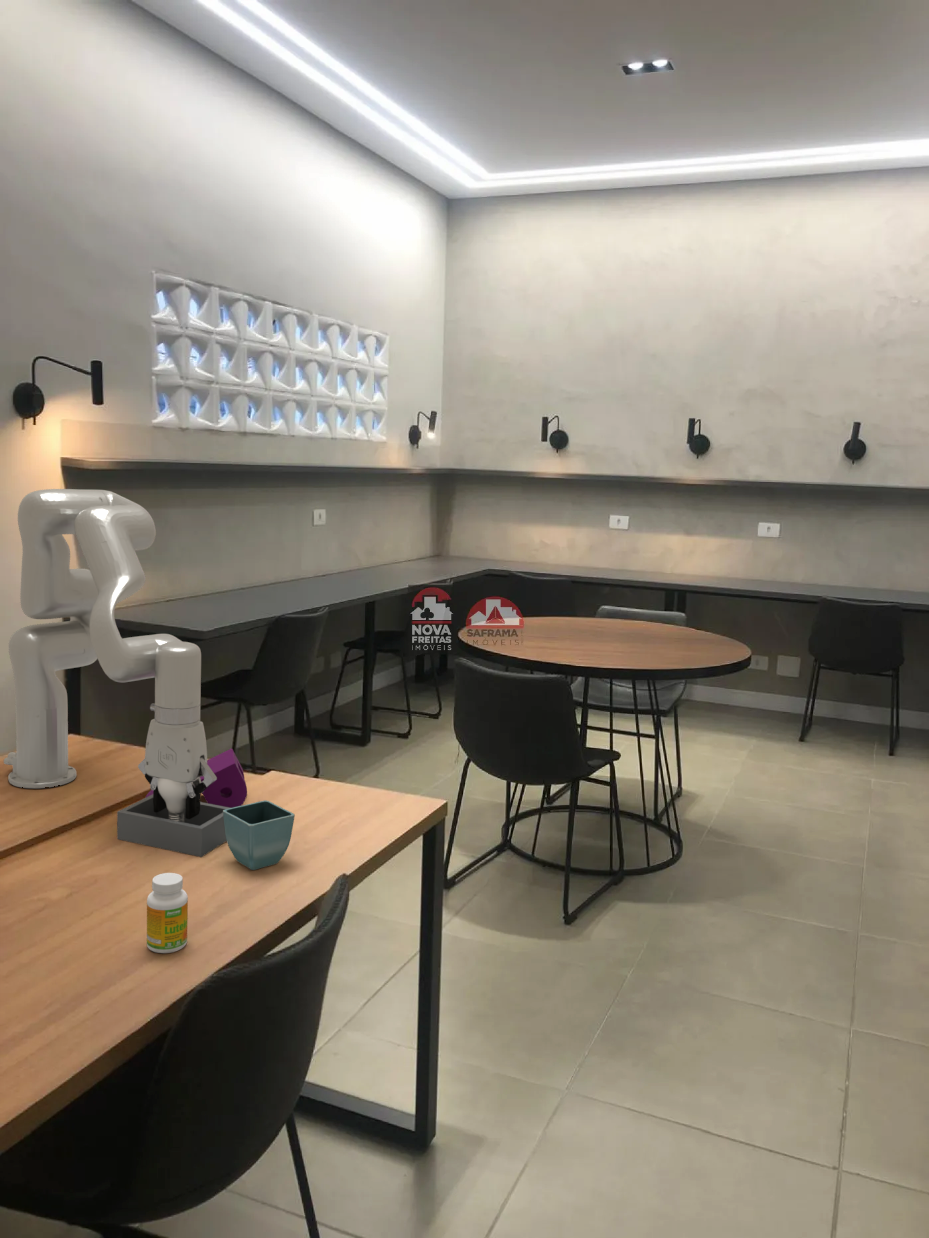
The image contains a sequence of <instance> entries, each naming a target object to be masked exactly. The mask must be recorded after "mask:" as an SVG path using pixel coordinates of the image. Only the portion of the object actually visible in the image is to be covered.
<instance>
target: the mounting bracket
mask: <svg viewBox="0 0 929 1238" xmlns="http://www.w3.org/2000/svg"><path fill="white" fill-rule="evenodd" d="M207 764H208V766H209V767H210V769H211V770H212V771H213V773H214V774H215V775H216V777H217V780H216V781H214V782H213V783H212V784H211V785H210V786H209V787H208V788H207V789H205V790H204V791H203V793H201V795H202V796H203V798H204V800H205V803H208V804H214V805H219V806H224V807H229V808H234V807H238V806H242V805H244V803H245V801H246V799H247V795H248V787H247V783H246V782H247V781H246V780H245V773H244V769H243V767H242V765H241V763H240V761H239V759H238V757H237V756H236V753H235V752H234V749H233V748H229V749H228V750H226V751H222V752H221V753H219V754H217V755H214V756H213V757H210V758H209V759H207ZM200 779H201V782H202V781H203V780H204V776H202V777H200ZM152 794H153V790H151V789H150V791H148V793H147V794H146V795H145V798H146V797H148V796H150V795H152Z"/></svg>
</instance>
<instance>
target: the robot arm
mask: <svg viewBox="0 0 929 1238" xmlns="http://www.w3.org/2000/svg"><path fill="white" fill-rule="evenodd" d="M17 524H18V530H19V534H20V539H21V545H22V549H21V550H22V556H21V557H22V558H21V572H20V575H21V576H20V595H19V596H20V598H19V599H20V602H19V603H20V608H21V611H22V612H23V614H24V615H25V616H26V617H28V618H30V619H34V620H51V619H52V620H53V619H63V618H69V619H70V620H68V621H58V622H57V621H56V622H47V623H39V624H38V623H37V624H32V625H31V624H30V625H26V626H24V627H20V628H19V629H18V630H16V631H15V632H13V634H12V635H11V637H10V639H9V640H8V654H9V659H10V663H11V664H10V665H11V667H12V673H13V681H14V697H15V699H14V702H15V703H14V704H15V731H16V733H15V734H16V735H15V736H16V737H15V738H16V739H15V740H16V741H15V742H16V743H15V744H16V746H15V747H16V752H13V751H11V752H9V753H8V754H7V757H5V758H4V759H3V764H5V765H7V766H12V771H11V772H10V773H9V774H8V783H9V784H10V785H12V786H14V787H17V788H22V787H23V788H24V789H46V788H45V787H49V788H54V786H55V787H59V786H58V785H60V786H63V785H66V784H68V783H71V782H73V781H74V780H75V779H76V777H77V770H76V768H75V767H73V766H72V765H71V766H70V765H69V731H68V730H69V724H68V723H69V721H68V718H69V717H68V716H69V715H68V714H69V713H68V711H69V710H68V706H69V705H68V703H69V702H68V693H67V691H68V690H67V689H66V687H65V685H64V684H63V683H62V681H61V680H60V679H59V677H58V676H57V674H56V672H57V671H61V670H62V671H63V670H68V669H69V670H70V669H74V668H80V667H85V666H89V665H92V664H93V663H95V662H96V661H98V663H99V665H100V667H101V668H102V671H103V672H104V674H105V675H106V676H107V677H108V678H109V679H110V680H112V681H113V682H117V683H128V682H135V681H141V680H146V679H154V703H151V704H150V705H149V710H150V711H151V712H152V711H153V712H154V718H153V719H151V720H150V723H149V726H148V730H147V735H146V741H145V742H146V743H145V751H144V752H145V753H144V758H143V760H142V761H141V762H139V764H138V765H137V768H138V769H139V771H140V772H141V773H142V774H143V775H144V778H145V780H146V781H147V782H148V783H149V788H150V791H151V790H153V804H154V812H156V813H158V812H159V811H161V810H163V809H165V808H167V806H166V802H165V800H164V799H163V798H162V796H161V795H160V793H159V791H158V787H157V783H158V778H160V779H169V780H173V781H176V782H181V783H186V787H187V791H188V794H189V796H188V797H186V819H191V818H193V817H195V816H196V815H198V814H199V811H200V802H201V795H202V793H203V791H204V790H205V789H207V788H208V787H209V786H210V785H211V784H212V783H213V782H214V781H216V780H217V777H216V775H215V774H214V773H213V771H212V770H211V769H210V767H209V766H208V764H207V760H208V749H207V748H208V747H207V739H206V732H205V726H204V722H203V721H201V694H202V693H201V689H202V688H201V687H202V685H201V684H202V683H201V682H202V681H201V680H202V679H201V678H202V652H201V648H200V647H199V646H198V645H197V644H195V643H193V642H188V641H182V640H181V639H179V638H178V637H176V636H174V635H172V634H169V633H156V634H149V635H147V634H146V635H139V636H132V637H131V636H130V637H124V638H123V637H122V636H121V634H120V631H119V629H118V627H117V623H116V619H115V609H116V605H117V604H119V603H121V602H123V601H124V600H126V599H128V598H130V597H131V596H133V595H134V594H136V593H138V592H139V591H140V590H141V589H142V588H143V587H144V585H145V583H146V580H147V578H146V574H145V572H144V570H143V567H142V564H141V562H140V560H139V557H138V555H137V553H136V551H144V550H147V549H148V548H149V549H150V547H151V546H152V545H153V544H154V542H155V539H156V536H157V535H156V534H157V531H156V530H157V529H156V526H155V525H156V524H155V521H154V519H153V518H152V515H151V514H150V513H149V511H147V509H146V508H145V507H143V506H142V505H140V504H139V503H136V501H132V500H130V499H128V498H127V497H124V496H121V495H120V494H118V493H115V492H113V491H111V490H105V489H76V488H75V489H74V488H73V489H72V488H50V489H48V488H47V489H39V490H34V491H32V492H29V493H27V494H26V495H25V496H24V497H23V498H22V500H21V501H20V503H19V505H18V511H17ZM64 535H75V537H76V539H77V541H78V544H79V547H80V549H81V552H82V555H83V557H84V560H85V561H86V565H87V567H88V568H70V567H71V566H70V565H71V549H70V546H69V543H68V541H67V540H66V539H65V537H64ZM202 776H204V780H203V781H202V782H201V779H200V777H202ZM193 782H194V784H193ZM194 785H195V787H194Z"/></svg>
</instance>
